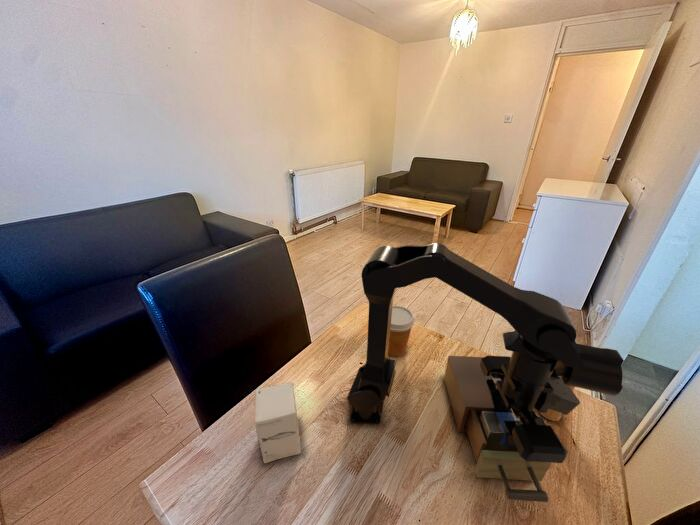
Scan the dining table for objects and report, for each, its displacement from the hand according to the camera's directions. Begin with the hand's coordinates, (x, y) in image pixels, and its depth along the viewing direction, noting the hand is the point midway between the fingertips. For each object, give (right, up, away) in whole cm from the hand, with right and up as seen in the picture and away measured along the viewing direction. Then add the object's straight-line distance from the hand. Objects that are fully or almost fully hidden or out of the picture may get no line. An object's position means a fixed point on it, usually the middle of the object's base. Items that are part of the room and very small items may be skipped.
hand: (504, 431), depth 53 cm
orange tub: (-16, +7, +29) cm, 34 cm away
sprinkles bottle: (+16, -2, +11) cm, 19 cm away
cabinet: (+1, -1, +12) cm, 13 cm away
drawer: (0, -6, +1) cm, 6 cm away
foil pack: (0, -1, 0) cm, 1 cm away
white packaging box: (-43, -5, +5) cm, 44 cm away
